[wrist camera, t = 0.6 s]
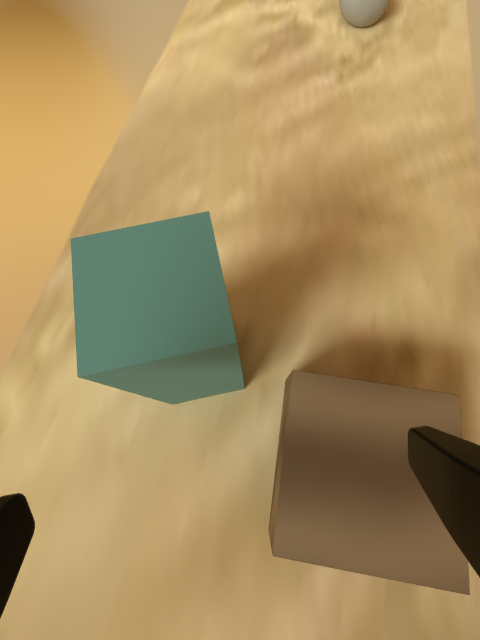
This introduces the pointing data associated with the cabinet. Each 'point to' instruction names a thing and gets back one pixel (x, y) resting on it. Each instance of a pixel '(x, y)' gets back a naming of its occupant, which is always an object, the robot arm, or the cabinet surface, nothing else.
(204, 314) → the pillar block
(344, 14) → the pale two-lobed sculpture
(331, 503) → the walnut base block
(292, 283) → the cabinet surface
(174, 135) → the cabinet surface
